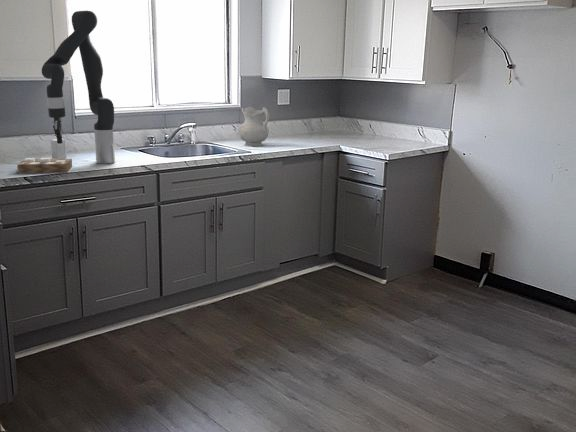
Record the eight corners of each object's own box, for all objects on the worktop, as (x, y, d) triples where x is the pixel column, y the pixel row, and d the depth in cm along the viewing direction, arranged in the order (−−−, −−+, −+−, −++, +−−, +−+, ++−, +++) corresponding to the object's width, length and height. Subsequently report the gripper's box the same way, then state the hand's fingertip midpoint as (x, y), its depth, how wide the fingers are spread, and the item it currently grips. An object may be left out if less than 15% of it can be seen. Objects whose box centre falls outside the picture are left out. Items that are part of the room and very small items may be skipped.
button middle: (50, 161, 296) (50, 157, 296) (49, 163, 293) (48, 159, 292) (41, 161, 296) (41, 157, 295) (40, 163, 292) (39, 159, 291)
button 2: (65, 164, 298) (65, 160, 298) (64, 165, 294) (64, 161, 294) (57, 164, 297) (56, 160, 297) (55, 165, 294) (55, 161, 293)
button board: (72, 166, 305) (71, 157, 304) (67, 172, 290) (66, 163, 288) (25, 167, 301) (24, 158, 299) (18, 173, 285) (17, 163, 284)
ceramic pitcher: (276, 146, 394) (278, 107, 390) (263, 147, 377) (264, 107, 372) (246, 144, 403) (248, 106, 398) (232, 145, 385) (233, 105, 381)
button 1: (35, 162, 295) (35, 157, 295) (33, 163, 291) (33, 159, 291) (26, 162, 294) (26, 158, 294) (24, 163, 291) (24, 159, 290)
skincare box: (60, 161, 318) (58, 138, 315) (66, 162, 317) (65, 139, 314) (51, 163, 313) (50, 140, 310) (58, 164, 311) (56, 140, 308)
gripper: (62, 108, 283) (66, 145, 288) (66, 105, 296) (70, 141, 300) (45, 108, 282) (49, 145, 286) (50, 105, 294) (54, 141, 299)
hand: (59, 143), depth 293 cm, fingers closed
